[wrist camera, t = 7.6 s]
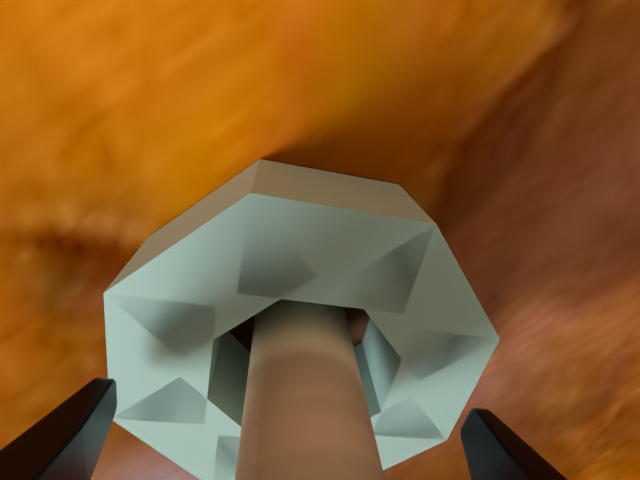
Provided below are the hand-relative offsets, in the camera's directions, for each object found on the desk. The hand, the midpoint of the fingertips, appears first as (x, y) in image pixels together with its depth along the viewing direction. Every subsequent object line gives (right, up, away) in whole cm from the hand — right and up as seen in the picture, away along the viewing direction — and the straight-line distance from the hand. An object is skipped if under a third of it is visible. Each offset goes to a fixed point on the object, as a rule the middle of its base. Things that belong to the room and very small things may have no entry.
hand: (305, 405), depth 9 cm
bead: (0, +2, +4) cm, 4 cm away
